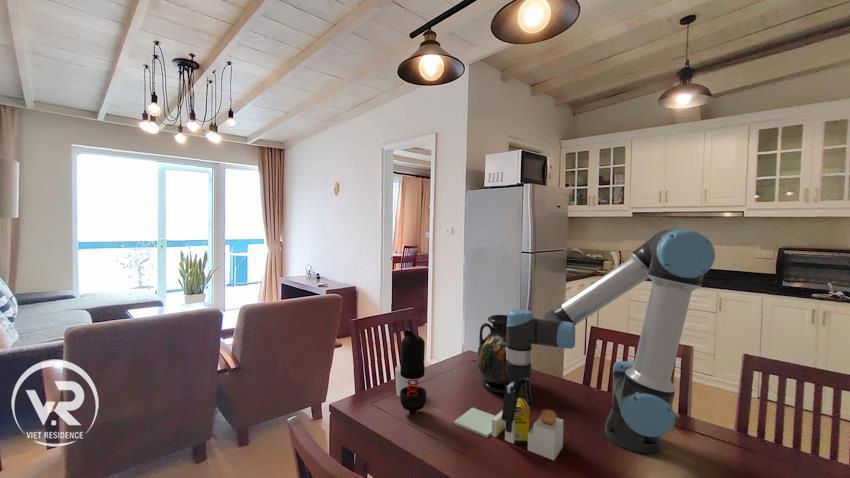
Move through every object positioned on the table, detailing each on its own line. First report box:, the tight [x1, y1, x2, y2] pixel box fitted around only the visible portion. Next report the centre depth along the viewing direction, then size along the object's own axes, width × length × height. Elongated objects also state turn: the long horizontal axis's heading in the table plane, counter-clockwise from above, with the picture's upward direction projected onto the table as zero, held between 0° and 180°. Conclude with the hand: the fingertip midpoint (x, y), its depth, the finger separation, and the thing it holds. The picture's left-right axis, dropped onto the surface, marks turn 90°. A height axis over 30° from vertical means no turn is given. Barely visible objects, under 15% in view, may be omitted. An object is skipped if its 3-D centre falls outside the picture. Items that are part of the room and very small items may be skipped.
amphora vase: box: [475, 314, 532, 395], centre depth 144 cm, size 22×22×28 cm
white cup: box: [394, 364, 415, 398], centre depth 136 cm, size 8×8×10 cm
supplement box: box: [514, 398, 531, 444], centre depth 108 cm, size 6×6×11 cm
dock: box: [490, 409, 564, 461], centre depth 107 cm, size 19×8×8 cm, turn 52°
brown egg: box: [540, 409, 557, 425], centre depth 103 cm, size 4×4×6 cm
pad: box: [453, 407, 496, 439], centre depth 116 cm, size 12×12×1 cm
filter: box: [399, 329, 427, 416], centre depth 123 cm, size 14×9×30 cm
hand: (516, 433), depth 109 cm, fingers open, 10 cm apart
